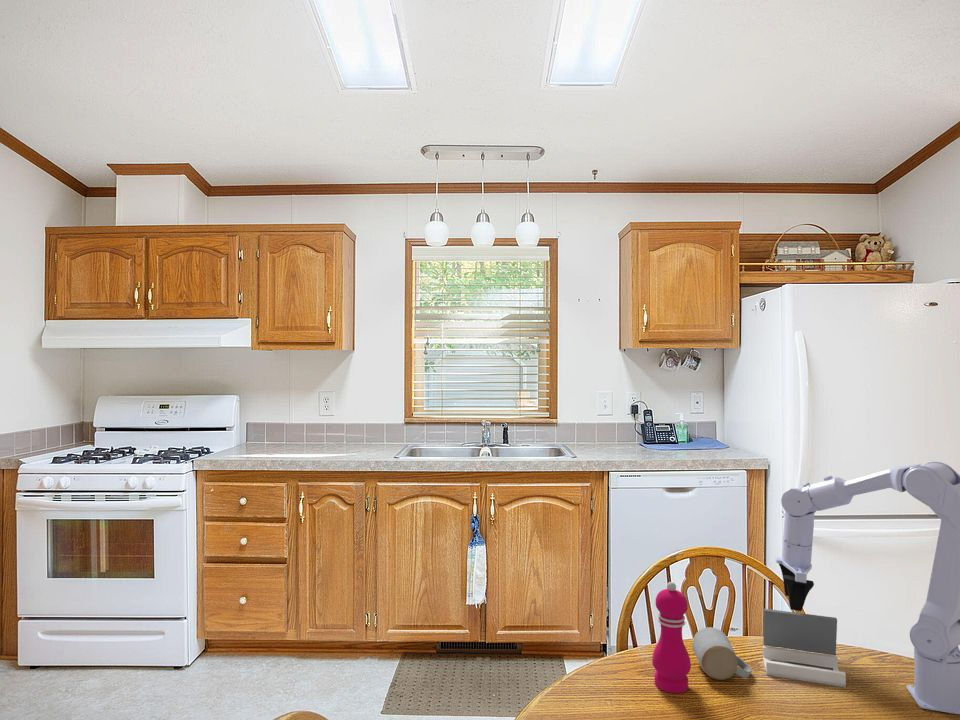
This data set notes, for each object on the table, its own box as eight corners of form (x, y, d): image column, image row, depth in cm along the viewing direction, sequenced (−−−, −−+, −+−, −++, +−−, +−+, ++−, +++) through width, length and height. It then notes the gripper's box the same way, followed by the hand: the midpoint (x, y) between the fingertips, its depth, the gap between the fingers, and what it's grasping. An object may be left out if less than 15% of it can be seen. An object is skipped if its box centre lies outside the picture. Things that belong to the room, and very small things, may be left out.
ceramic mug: (701, 681, 120) (702, 642, 120) (691, 661, 128) (692, 625, 128) (757, 685, 119) (758, 646, 119) (743, 665, 127) (744, 628, 127)
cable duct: (836, 668, 126) (836, 656, 126) (845, 687, 118) (845, 674, 118) (762, 657, 130) (762, 645, 130) (766, 674, 123) (766, 662, 123)
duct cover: (835, 655, 126) (834, 653, 127) (837, 619, 125) (836, 617, 125) (763, 645, 130) (763, 642, 131) (764, 610, 129) (763, 608, 130)
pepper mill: (693, 697, 114) (693, 590, 115) (653, 692, 116) (653, 587, 116) (688, 678, 121) (688, 577, 122) (650, 674, 123) (650, 574, 123)
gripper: (773, 529, 142) (769, 586, 142) (781, 549, 128) (777, 612, 129) (807, 534, 139) (803, 592, 140) (819, 555, 126) (814, 619, 126)
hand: (793, 602), depth 134 cm, fingers open, 7 cm apart
